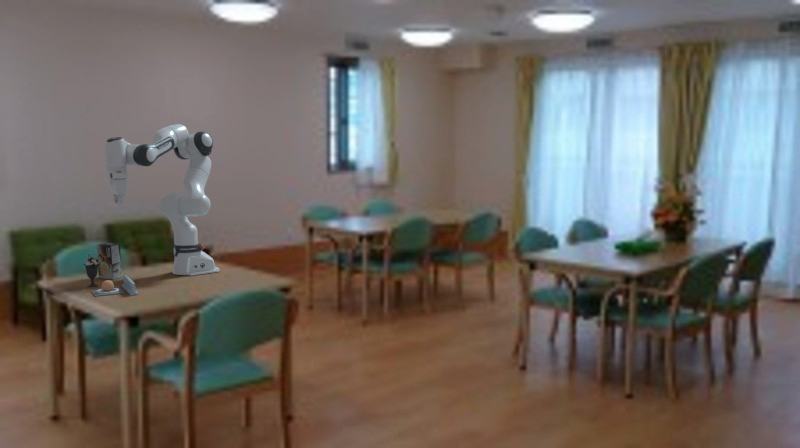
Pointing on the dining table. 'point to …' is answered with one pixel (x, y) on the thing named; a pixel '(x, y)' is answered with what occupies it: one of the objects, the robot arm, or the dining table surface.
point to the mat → (104, 293)
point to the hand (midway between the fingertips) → (118, 204)
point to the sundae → (92, 270)
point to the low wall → (129, 285)
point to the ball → (107, 285)
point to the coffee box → (109, 261)
